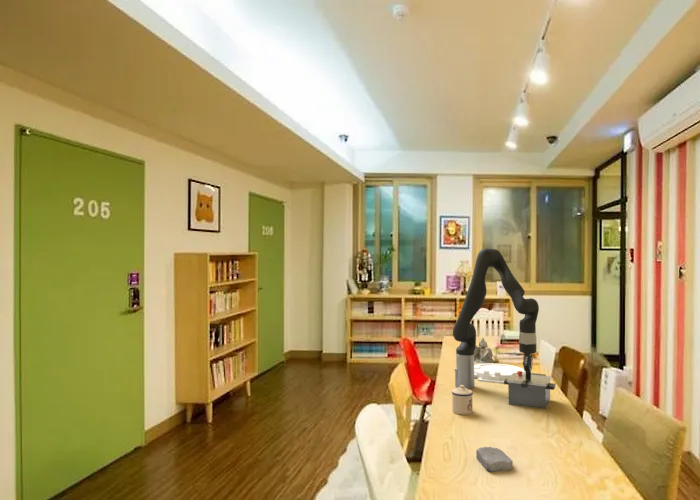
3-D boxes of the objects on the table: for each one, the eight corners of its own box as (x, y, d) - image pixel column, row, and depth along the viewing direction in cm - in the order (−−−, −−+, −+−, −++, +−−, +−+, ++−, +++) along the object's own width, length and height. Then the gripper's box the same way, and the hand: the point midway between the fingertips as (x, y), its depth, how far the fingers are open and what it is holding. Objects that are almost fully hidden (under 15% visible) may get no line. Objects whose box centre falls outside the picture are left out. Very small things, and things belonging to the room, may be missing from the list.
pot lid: (504, 385, 222) (504, 379, 222) (514, 374, 243) (514, 368, 243) (544, 390, 214) (544, 383, 214) (551, 378, 235) (551, 372, 235)
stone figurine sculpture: (465, 358, 330) (466, 336, 329) (490, 359, 328) (491, 337, 327) (468, 364, 314) (469, 341, 313) (495, 366, 312) (496, 343, 311)
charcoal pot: (501, 403, 229) (501, 381, 229) (508, 394, 243) (508, 374, 243) (552, 410, 218) (552, 387, 218) (556, 400, 232) (556, 379, 232)
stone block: (500, 461, 169) (472, 457, 168) (503, 448, 169) (475, 443, 168) (515, 478, 157) (485, 473, 156) (518, 463, 157) (488, 459, 156)
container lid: (528, 372, 292) (528, 362, 292) (519, 386, 261) (519, 374, 261) (478, 367, 305) (478, 357, 305) (463, 380, 274) (463, 369, 274)
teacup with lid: (471, 416, 211) (471, 388, 212) (450, 414, 214) (450, 387, 215) (474, 407, 223) (474, 382, 223) (454, 406, 226) (454, 380, 226)
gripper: (521, 339, 235) (522, 375, 235) (516, 343, 224) (517, 382, 224) (538, 340, 232) (539, 377, 232) (534, 345, 220) (534, 383, 220)
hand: (528, 379), depth 228 cm, fingers closed
